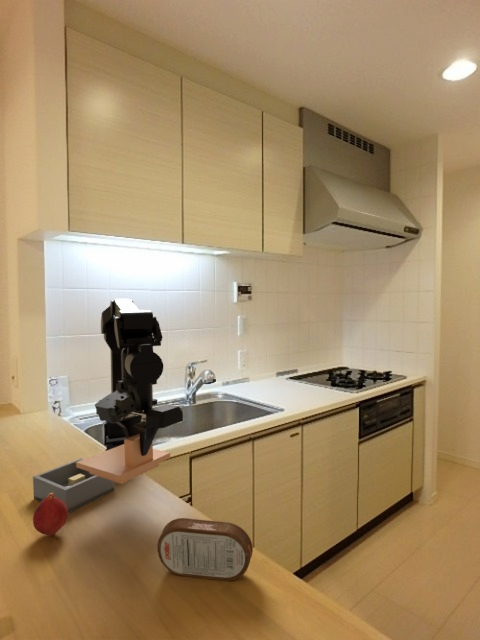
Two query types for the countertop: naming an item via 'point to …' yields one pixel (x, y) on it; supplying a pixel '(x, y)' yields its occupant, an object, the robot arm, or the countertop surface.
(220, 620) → the countertop surface
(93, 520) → the countertop surface
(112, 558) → the countertop surface
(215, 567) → the tin
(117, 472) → the lid
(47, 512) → the onion
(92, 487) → the tub
